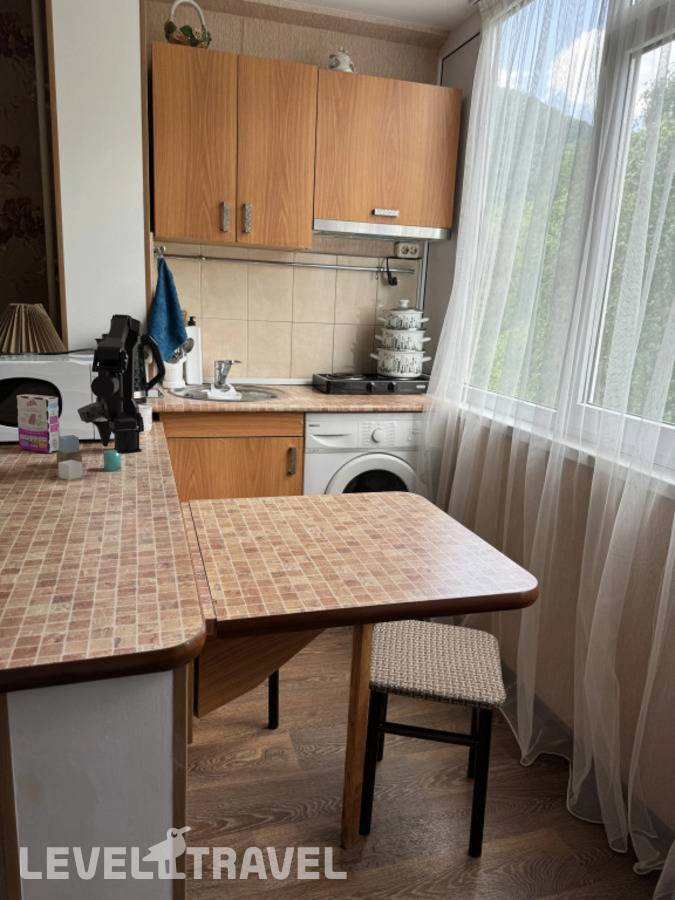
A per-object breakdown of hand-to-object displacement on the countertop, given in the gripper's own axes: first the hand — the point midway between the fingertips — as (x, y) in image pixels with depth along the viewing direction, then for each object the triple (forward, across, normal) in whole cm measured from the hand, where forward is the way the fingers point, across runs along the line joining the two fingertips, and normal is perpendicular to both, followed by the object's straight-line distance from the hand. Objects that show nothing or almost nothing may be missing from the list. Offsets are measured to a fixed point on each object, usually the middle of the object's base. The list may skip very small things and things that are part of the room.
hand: (112, 449), depth 174 cm
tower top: (+2, -10, -8) cm, 13 cm away
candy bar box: (+6, -31, -9) cm, 33 cm away
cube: (+6, +2, -12) cm, 13 cm away
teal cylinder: (+6, 0, 0) cm, 6 cm away
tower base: (+6, -10, -8) cm, 14 cm away
